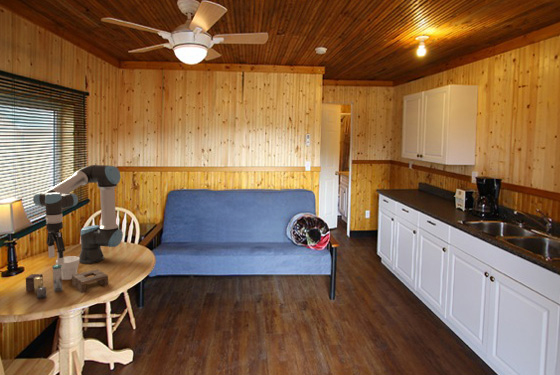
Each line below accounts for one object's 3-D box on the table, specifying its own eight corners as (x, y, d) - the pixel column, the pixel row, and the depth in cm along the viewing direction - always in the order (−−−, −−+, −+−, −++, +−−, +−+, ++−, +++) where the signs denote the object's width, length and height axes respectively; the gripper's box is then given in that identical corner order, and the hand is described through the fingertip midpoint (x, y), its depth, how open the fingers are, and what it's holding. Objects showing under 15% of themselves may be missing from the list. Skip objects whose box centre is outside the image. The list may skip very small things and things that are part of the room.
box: (32, 286, 211) (31, 273, 210) (43, 286, 212) (42, 273, 211) (25, 291, 205) (25, 278, 204) (37, 291, 206) (36, 278, 205)
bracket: (72, 285, 214) (71, 275, 214) (97, 278, 225) (97, 269, 224) (82, 292, 205) (81, 282, 204) (108, 285, 216) (107, 275, 215)
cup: (63, 282, 217) (62, 264, 216) (52, 278, 224) (51, 260, 222) (84, 276, 228) (84, 258, 226) (73, 271, 234) (72, 254, 233)
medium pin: (33, 292, 204) (32, 278, 203) (42, 290, 207) (41, 276, 206) (36, 294, 201) (35, 280, 200) (44, 292, 204) (43, 278, 203)
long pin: (52, 290, 207) (51, 265, 205) (60, 288, 210) (59, 263, 208) (55, 292, 204) (53, 267, 202) (63, 290, 207) (62, 265, 205)
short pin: (36, 297, 198) (35, 288, 197) (44, 295, 201) (44, 286, 200) (38, 299, 195) (38, 290, 194) (47, 297, 198) (46, 288, 197)
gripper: (38, 219, 207) (40, 256, 210) (54, 227, 191) (56, 267, 194) (53, 217, 213) (55, 253, 216) (70, 224, 196) (72, 264, 199)
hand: (56, 260), depth 205 cm, fingers open, 13 cm apart
